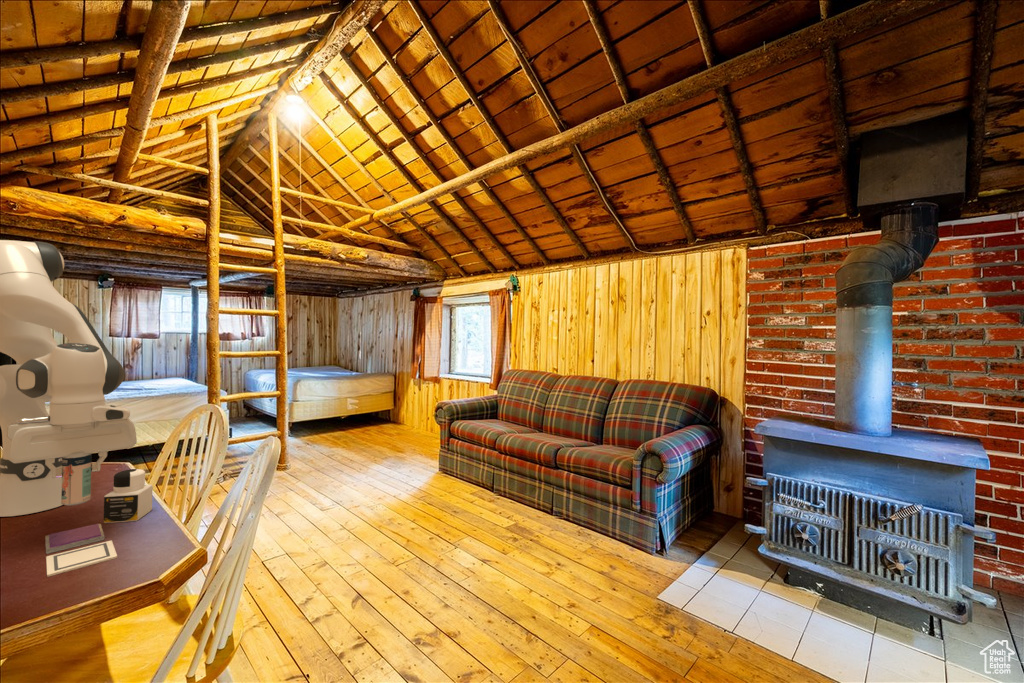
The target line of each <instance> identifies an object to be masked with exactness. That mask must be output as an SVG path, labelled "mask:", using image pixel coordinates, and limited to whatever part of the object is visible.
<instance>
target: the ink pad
mask: <svg viewBox="0 0 1024 683" xmlns="http://www.w3.org/2000/svg"><path fill="white" fill-rule="evenodd" d="M101 541H105V533H104V531H103V526H102V524H101V523H95V524H91V525H85V526H81V527H77V528H73V529H69V530H63V531H59V532H58V531H57V532H55V533H54V532H53V533H49V534H48V535H45V555H48V554H52V553H56V552H61V551H64V550H70V549H73V548H77V547H82V546H85V545H89V544H92V543H93V544H95V543H97V542H101Z"/></svg>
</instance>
